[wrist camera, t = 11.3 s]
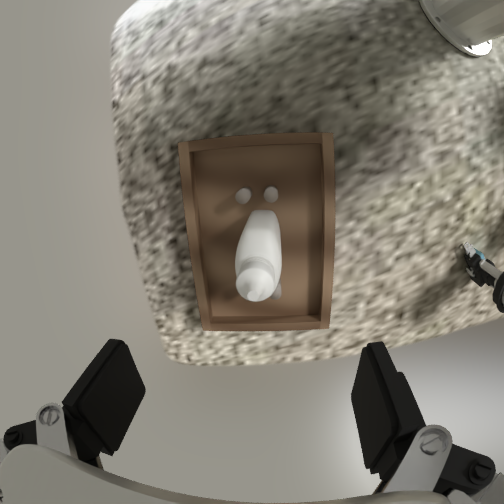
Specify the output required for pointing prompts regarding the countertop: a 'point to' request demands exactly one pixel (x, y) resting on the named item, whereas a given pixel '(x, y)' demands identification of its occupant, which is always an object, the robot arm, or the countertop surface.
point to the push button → (485, 274)
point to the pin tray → (236, 216)
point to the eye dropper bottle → (259, 256)
